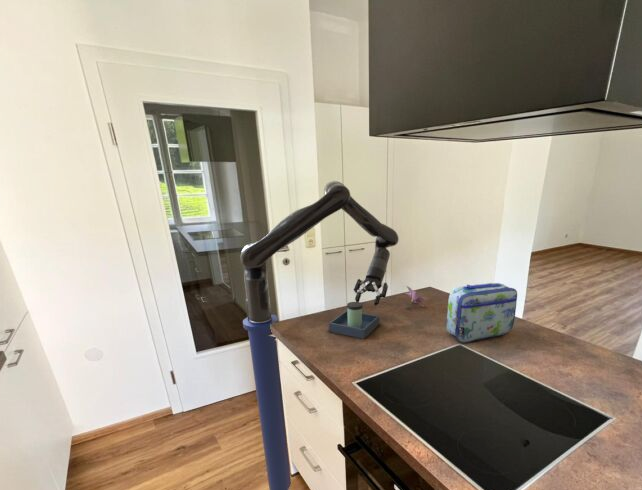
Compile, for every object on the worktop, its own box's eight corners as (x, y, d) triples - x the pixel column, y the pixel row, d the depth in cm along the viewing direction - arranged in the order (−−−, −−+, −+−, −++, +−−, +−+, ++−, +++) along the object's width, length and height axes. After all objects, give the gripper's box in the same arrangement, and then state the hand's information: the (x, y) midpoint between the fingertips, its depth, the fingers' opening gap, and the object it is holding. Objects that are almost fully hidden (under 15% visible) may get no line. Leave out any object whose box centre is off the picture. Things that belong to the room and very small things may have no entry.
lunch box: (455, 346, 133) (462, 292, 124) (441, 334, 142) (446, 283, 134) (514, 337, 140) (524, 286, 132) (497, 326, 149) (505, 278, 141)
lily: (426, 314, 163) (433, 294, 163) (403, 305, 160) (411, 285, 160) (416, 312, 175) (423, 294, 175) (395, 304, 172) (401, 285, 172)
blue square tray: (329, 331, 143) (328, 322, 141) (346, 318, 155) (346, 310, 154) (363, 338, 137) (364, 329, 136) (379, 324, 150) (379, 315, 148)
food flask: (344, 327, 144) (344, 305, 141) (351, 322, 150) (351, 300, 146) (358, 330, 142) (358, 307, 139) (364, 324, 147) (364, 303, 144)
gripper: (359, 264, 157) (348, 296, 152) (390, 267, 152) (379, 301, 146) (364, 273, 163) (353, 304, 158) (394, 276, 158) (383, 309, 153)
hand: (366, 303), depth 152 cm, fingers open, 8 cm apart
